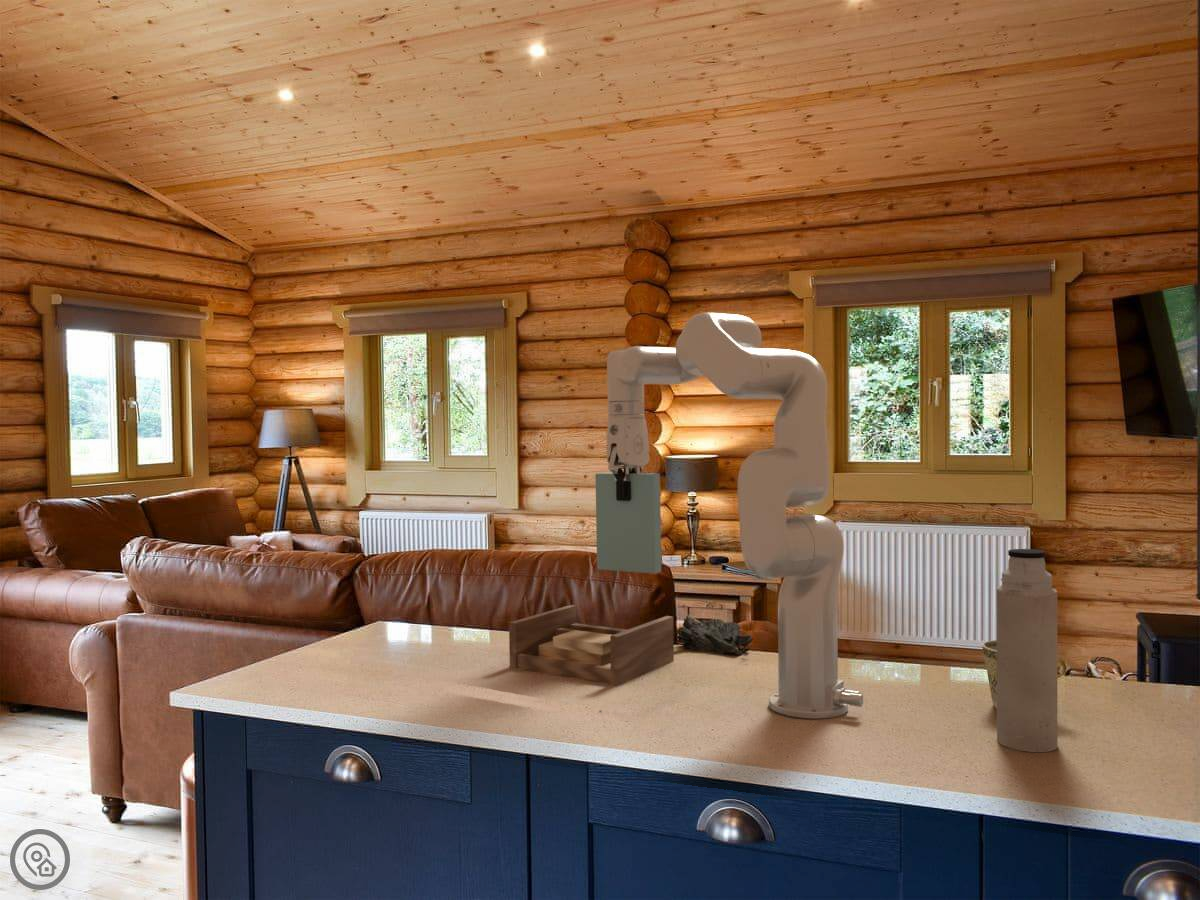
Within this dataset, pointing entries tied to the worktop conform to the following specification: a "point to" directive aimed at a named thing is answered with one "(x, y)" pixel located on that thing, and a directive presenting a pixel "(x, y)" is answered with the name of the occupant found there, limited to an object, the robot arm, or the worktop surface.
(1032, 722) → the thermos bottle
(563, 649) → the offcut stack
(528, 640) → the walnut rack
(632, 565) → the teal sheet
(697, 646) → the mineral specimen
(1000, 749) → the worktop surface
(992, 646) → the ceramic cup
